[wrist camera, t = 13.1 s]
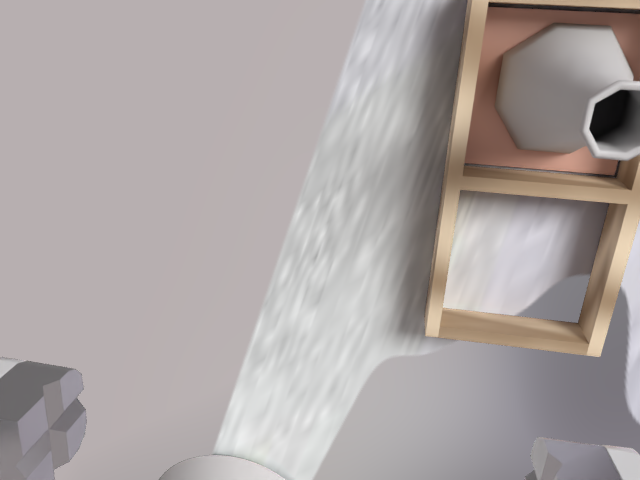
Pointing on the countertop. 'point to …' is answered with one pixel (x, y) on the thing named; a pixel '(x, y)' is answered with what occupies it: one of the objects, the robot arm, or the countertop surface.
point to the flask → (571, 93)
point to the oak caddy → (531, 177)
